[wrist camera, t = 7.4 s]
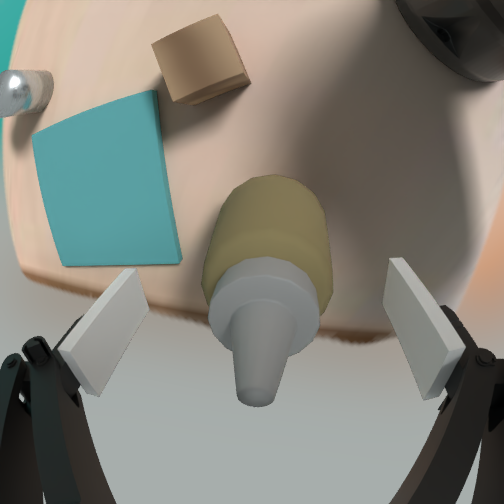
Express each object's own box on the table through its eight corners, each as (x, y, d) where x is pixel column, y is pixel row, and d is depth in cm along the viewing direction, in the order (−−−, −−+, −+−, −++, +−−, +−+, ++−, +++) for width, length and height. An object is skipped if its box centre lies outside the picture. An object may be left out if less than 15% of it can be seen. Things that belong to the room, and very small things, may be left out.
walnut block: (230, 34, 18) (218, 13, 13) (251, 83, 19) (243, 72, 15) (175, 57, 19) (151, 44, 14) (194, 105, 21) (172, 101, 16)
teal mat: (156, 90, 20) (151, 89, 19) (182, 258, 27) (179, 263, 26) (37, 134, 22) (31, 135, 21) (67, 262, 29) (62, 266, 28)
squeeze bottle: (208, 210, 24) (97, 367, 8) (276, 146, 22) (263, 218, 5) (270, 271, 26) (252, 459, 10) (338, 217, 24) (420, 392, 7)
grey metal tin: (53, 63, 18) (14, 61, 13) (54, 103, 21) (14, 107, 15) (26, 80, 19) (-10, 82, 14) (28, 118, 21) (-9, 125, 16)
